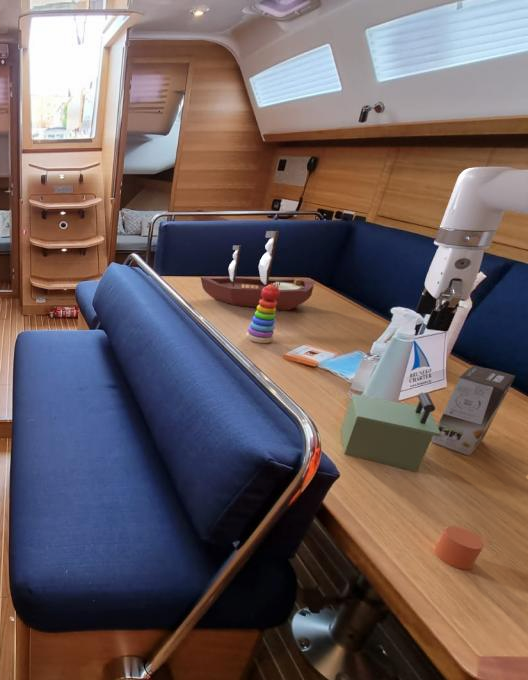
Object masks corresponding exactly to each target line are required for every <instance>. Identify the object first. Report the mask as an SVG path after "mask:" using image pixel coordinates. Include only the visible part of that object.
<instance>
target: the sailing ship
mask: <svg viewBox="0 0 528 680" xmlns="http://www.w3.org/2000/svg"><path fill="white" fill-rule="evenodd" d="M279 232H280V231H279V230H275V231H273V230H266V232H265V238H266V239H267V238H269V239H268V241H267V242H266V244H265V246H264V247H265V248H264V249H265V250H266V252H265V253H264V254H263V255H262V257H261V259H260V260H259V264H258V271H259V277H248V276H237V273H238V272H237V271H238V265H239V261H240V254H241V248H242V245H241V244H240V245H232V250H233V251H234V252H233V254H232V259H233V260H232V261H231V263H230V264H229V266H228V275H229V276H221V277H220V276H219V277H218V276H217V277H215V276H214V277H213V276H200V282H201V285H202V289H203V290H204V293H206V294H207V295H208V296H210V297H211V298H212V299H214V300H216V301H219V302H221V303H222V302H224V303H226V304H230V305H233V306H237V307H238V306H240V307H248V308H256V309H257V306H258V305H260V304H259V301H260V300H261V299H263V298H262V296H261V292H262V290H263V288H264V287H266V286H269V285H273V286H276V287H277V288H278V289H279V291H280V294H279V297H278V298H277V299H276V300H275V301H276V302H277V305H276V306H275V308H276V311H285V312H288V311H290V310H292V309H294V308H296V307H298V306H300V305H302V304H304V303H305V302H306V301H308V300H309V299H310V298H311V297H312V295H313V290H314V286H315V280H312V279H308V278H307V279H306V278H300V277H289V278H288V277H287V278H270V275H271V270H272V265H273V261H274V256H275V251H276V246H277V242H278V237H279Z"/></svg>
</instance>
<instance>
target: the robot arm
mask: <svg viewBox="0 0 528 680" xmlns="http://www.w3.org/2000/svg"><path fill="white" fill-rule="evenodd" d="M447 203H448V204H447V206H446V209H445V211H444V215H443V217H442V219H441V222H440V225H439V227H438V231H437V234H436V236H435V239H434V242H433V245H435V246H437V247H438V248H437V249H436V252H435V254H434V256H433V259H432V261H431V263H430V266H429V268H428V271H427V273H426V277H425V281H424V288H423V290H422V294H421V295H420V298H419V301H418V303H417V305H416V309H415V313H416V314H420V315H429V318H428V320H427V322H426V325H425V328H426V329H427V330H430V331H436V332H449V330H450V328H451V325H452V324H453V320H454V318H455V316H456V314H457V311H458V308H459V307H460V302H466V301H468V300H469V299H470V296H471V294H472V291H473V289H474V286H475V282H476V280H477V277H478V275H479V271H480V268H481V265H482V262H483V259H484V258H483V257H484V252H485V250H488V249H490V247H491V245H492V243H493V240H494V238H495V235H496V233H497V231H498V229H499V226H500V224H501V222H502V219H503V218H504V214H505V213H506V212H513V213H518V214H519V213H520V214H526V215H528V169H517V168H516V167H510V166H475V167H469V168H466V169H464V170H463V171H461V173H460V174H459V175H458V177H457V179H456V182H455V184H454V187H453V190H452V192H451V195H450V198H449V201H448V202H447ZM443 301H444V302H443Z"/></svg>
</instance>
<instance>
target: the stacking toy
mask: <svg viewBox="0 0 528 680" xmlns="http://www.w3.org/2000/svg"><path fill="white" fill-rule="evenodd" d="M279 294H280V291H279V289H278V288H277V287H276V286H273V285H269V286H266V287H264V288H263V290H262V292H261V296H262V298H263V299H261V300H260V301H259V304H260V305H258V306H257V308H256V310H255V312H254V315H253V316H252V319H251V322H250V323H249V324H250V325H249V326H248V328H247V332H246V334H245V336H246V338H247V339H248V340H249V341H251V342H255V343H259V344H268V343H271V342H273V340H274V333H275V332H274V330H275V327H276V326H275V322H276V320H275V318H276V315H277V314H276V311H277V310H276V308H275V306H276V305H277V302H276V301H275V300H276V299H277V298H278V297H279Z"/></svg>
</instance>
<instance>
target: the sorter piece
mask: <svg viewBox="0 0 528 680" xmlns="http://www.w3.org/2000/svg"><path fill="white" fill-rule="evenodd" d="M484 547H485V544H484V542H483V540H482V539H481V538H480V537H479V536H478V535H477V534H476V533H474V532H472V531H470V530H468V529H466V528H463V527H460V526H455V525H449V526H446V527H445V529H444V530H443V532H442V533H441V536H440V538H439V540H438V541H437V544H436V545H435V547H434V552H435V554H436V556H437V557H438V558H439V559H440V560H441V561H443V562H444V563H445V564H447V565H449V566H451V567H454V568H455V569H460V570H470V569H472V567H473V566H474V564H475V562H476V561H477V558H478V557H479V555H480V553H481V552H482V551H483V549H484Z"/></svg>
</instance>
